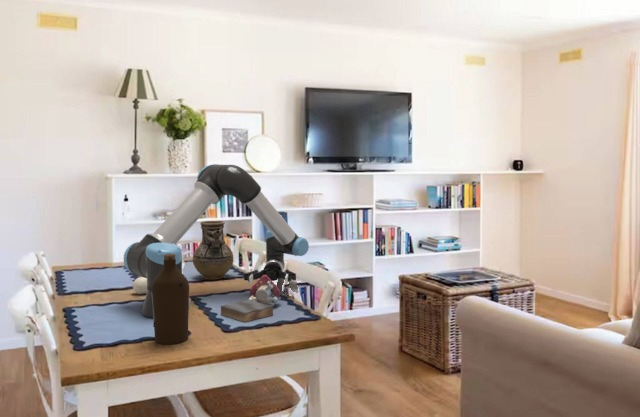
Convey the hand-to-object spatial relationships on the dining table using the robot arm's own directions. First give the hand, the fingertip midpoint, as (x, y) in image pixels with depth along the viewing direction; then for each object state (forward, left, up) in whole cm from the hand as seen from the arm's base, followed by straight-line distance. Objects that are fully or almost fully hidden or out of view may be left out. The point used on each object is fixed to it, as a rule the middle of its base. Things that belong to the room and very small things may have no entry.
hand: (268, 281), depth 218 cm
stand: (-20, -13, -7) cm, 25 cm away
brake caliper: (-7, -7, -7) cm, 12 cm away
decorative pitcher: (+8, +48, -7) cm, 49 cm away
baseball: (-30, +41, -7) cm, 51 cm away
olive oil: (-52, -19, -7) cm, 56 cm away
